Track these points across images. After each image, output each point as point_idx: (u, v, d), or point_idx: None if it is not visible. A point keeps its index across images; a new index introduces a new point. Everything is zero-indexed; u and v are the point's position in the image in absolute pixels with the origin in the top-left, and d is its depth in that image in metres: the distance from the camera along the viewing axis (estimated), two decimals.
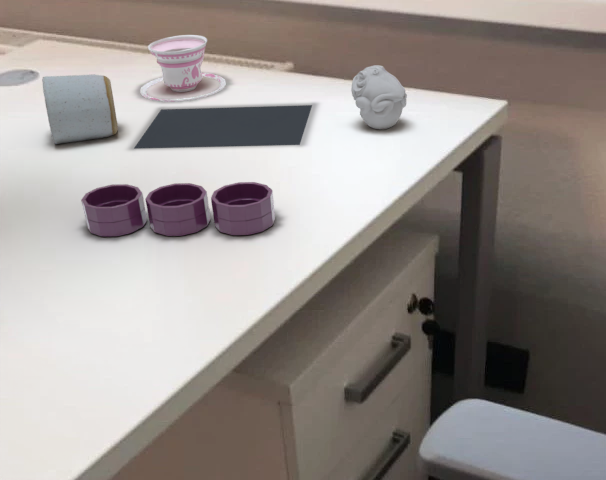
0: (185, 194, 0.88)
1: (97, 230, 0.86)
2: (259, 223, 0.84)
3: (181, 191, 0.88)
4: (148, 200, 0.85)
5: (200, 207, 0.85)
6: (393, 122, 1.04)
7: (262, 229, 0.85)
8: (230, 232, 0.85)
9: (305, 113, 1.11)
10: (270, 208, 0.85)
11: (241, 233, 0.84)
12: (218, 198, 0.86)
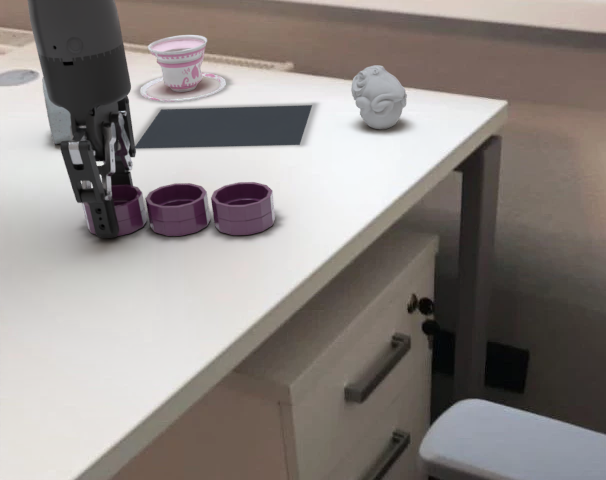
0: (185, 194, 0.88)
1: None
2: (259, 223, 0.84)
3: (181, 191, 0.88)
4: (148, 200, 0.85)
5: (200, 207, 0.85)
6: (393, 122, 1.04)
7: (262, 229, 0.85)
8: (230, 232, 0.85)
9: (305, 113, 1.11)
10: (270, 208, 0.85)
11: (241, 233, 0.84)
12: (218, 198, 0.86)
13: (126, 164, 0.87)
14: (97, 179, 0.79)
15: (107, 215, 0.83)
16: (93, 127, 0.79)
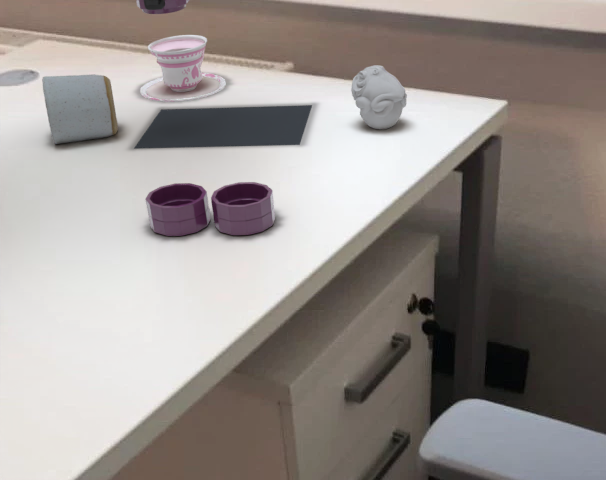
0: (185, 194, 0.88)
1: None
2: (259, 223, 0.84)
3: (181, 191, 0.88)
4: (148, 200, 0.85)
5: (200, 207, 0.85)
6: (393, 122, 1.04)
7: (262, 229, 0.85)
8: (230, 232, 0.85)
9: (305, 113, 1.11)
10: (270, 208, 0.85)
11: (241, 233, 0.84)
12: (218, 198, 0.86)
13: None
14: None
15: None
16: None
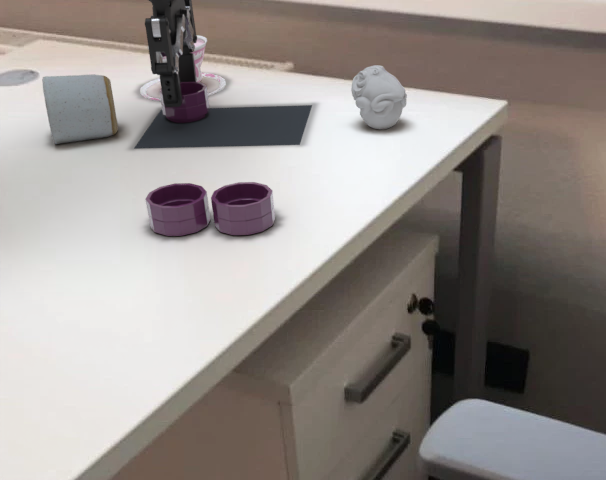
0: (185, 194, 0.88)
1: (172, 115, 1.10)
2: (259, 223, 0.84)
3: (181, 191, 0.88)
4: (148, 200, 0.85)
5: (200, 207, 0.85)
6: (393, 122, 1.04)
7: (262, 229, 0.85)
8: (230, 232, 0.85)
9: (305, 113, 1.11)
10: (270, 208, 0.85)
11: (241, 233, 0.84)
12: (218, 198, 0.86)
13: (190, 46, 1.11)
14: (170, 52, 1.02)
15: (174, 87, 1.06)
16: (170, 15, 1.02)
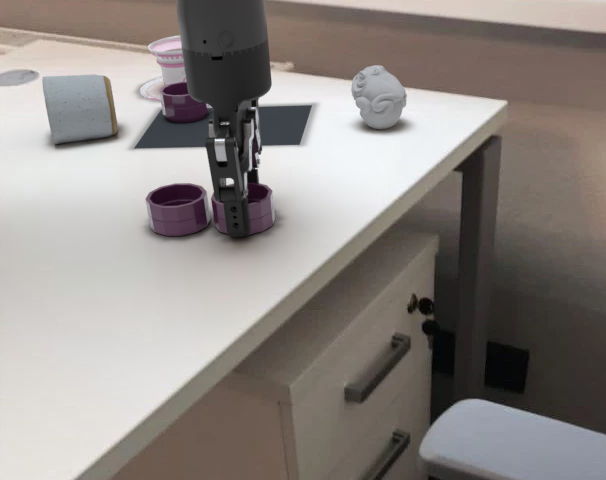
0: (185, 194, 0.88)
1: (172, 115, 1.10)
2: (259, 223, 0.84)
3: (181, 191, 0.88)
4: (148, 200, 0.85)
5: (200, 207, 0.85)
6: (393, 122, 1.04)
7: (262, 229, 0.85)
8: None
9: (305, 113, 1.11)
10: (270, 208, 0.85)
11: None
12: None
13: (255, 161, 0.86)
14: (239, 176, 0.78)
15: (242, 213, 0.82)
16: (236, 123, 0.77)
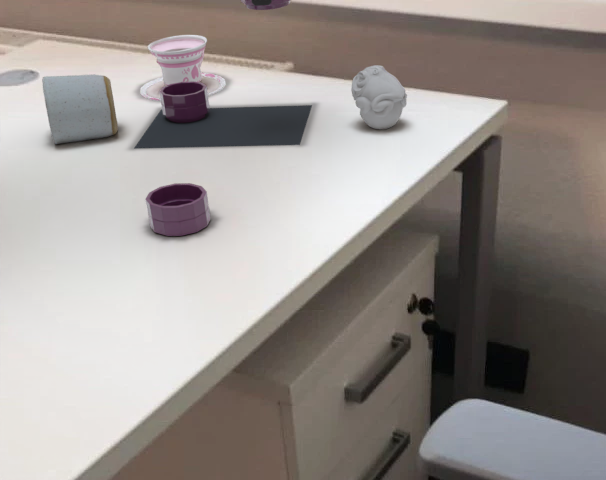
0: (185, 194, 0.88)
1: (172, 115, 1.10)
2: None
3: (181, 191, 0.88)
4: (148, 200, 0.85)
5: (200, 207, 0.85)
6: (393, 122, 1.04)
7: (282, 1, 0.98)
8: None
9: (305, 113, 1.11)
10: None
11: None
12: None
13: None
14: None
15: None
16: None
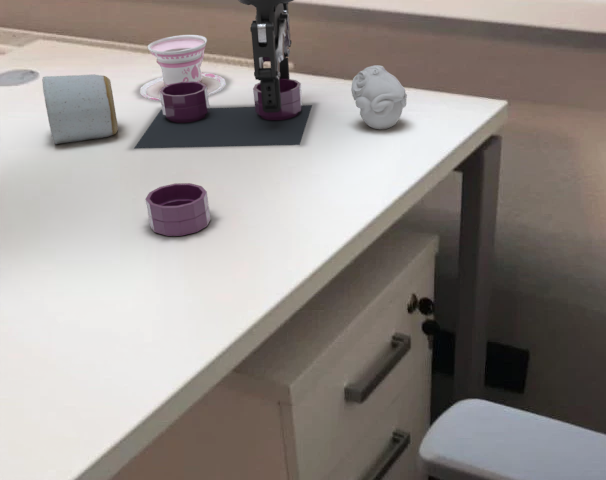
0: (185, 194, 0.88)
1: (172, 115, 1.10)
2: (290, 107, 1.09)
3: (181, 191, 0.88)
4: (148, 200, 0.85)
5: (200, 207, 0.85)
6: (393, 122, 1.04)
7: (293, 113, 1.09)
8: (268, 115, 1.09)
9: (305, 113, 1.11)
10: (299, 96, 1.09)
11: (276, 115, 1.09)
12: (258, 90, 1.10)
13: (286, 51, 1.10)
14: (274, 57, 1.01)
15: (275, 92, 1.05)
16: (274, 20, 1.01)
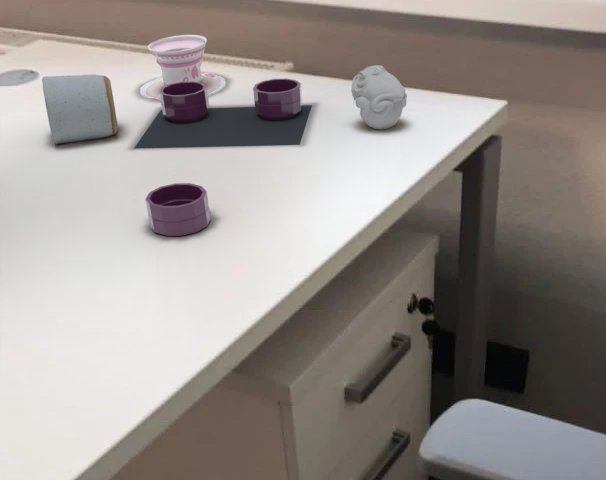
0: (185, 194, 0.88)
1: (172, 115, 1.10)
2: (290, 107, 1.09)
3: (181, 191, 0.88)
4: (148, 200, 0.85)
5: (200, 207, 0.85)
6: (393, 122, 1.04)
7: (293, 113, 1.09)
8: (268, 115, 1.09)
9: (305, 113, 1.11)
10: (299, 96, 1.09)
11: (276, 115, 1.09)
12: (258, 90, 1.10)
13: None
14: None
15: None
16: None
